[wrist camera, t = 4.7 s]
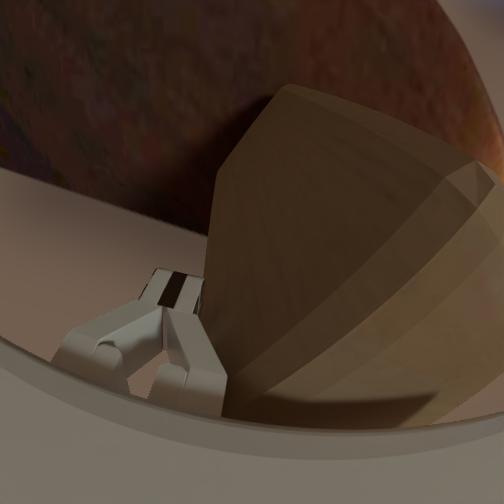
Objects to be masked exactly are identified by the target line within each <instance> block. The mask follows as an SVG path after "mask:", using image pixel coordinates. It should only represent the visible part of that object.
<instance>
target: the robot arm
mask: <svg viewBox="0 0 504 504" xmlns="http://www.w3.org/2000/svg"><path fill="white" fill-rule="evenodd" d="M205 285H206V279H204V278H203V277H198V276H193V275H188V274H184V273H180V272H176V271H175V272H174V271H171V270H167V269H163V268H158V269H156V270H155V271H154V273H153V275H152V278H151V280H150V281H149V283H148V284H147V285H146V287H145V288H144V290H143V292H142V294H141V296H140V297H139V300H136V299H134V300H131V301H129V302H127V303H125V304H123V305H121V306H119V307H117V308H115V309H113V310H111V311H109V312H107V313H105V314H102V315H101V316H99V317H96V318H94V319H92V320H90V321H88V322H86V323H84V324H82V325H80V326H78V327H76V328H74V329H72V330H70V332H69V333H68V335H67V336H66V338H65V339H64V341H63V343H62V344H61V346H60V347H59V349H58V351H57V352H56V354H55V355H54V357H53V359H52V360H51V362H48V361H46V360H44V359H42V358H40V357H38V356H36V355H34V354H32V353H30V352H28V351H27V350H25V349H23V348H21V347H19V346H17V345H15V344H14V343H12V342H10V341H8V340H7V339H5V338H3V337H1V336H0V504H504V412H499V413H494V414H490V415H486V416H481V417H476V418H471V419H466V420H460V421H454V422H448V423H441V424H434V425H425V426H416V427H404V428H389V429H318V428H302V427H290V426H279V425H270V424H262V423H255V422H248V421H241V420H235V419H229V418H224V417H221V413H222V407H223V400H224V394H225V388H226V382H227V374H226V372H225V370H224V368H223V366H222V364H221V362H220V360H219V358H218V356H217V355H216V353H215V351H214V349H213V347H212V345H211V343H210V340H209V338H208V336H207V334H206V332H205V330H204V328H203V326H202V324H201V322H200V317H201V313H202V307H203V301H204V300H203V294H204V291H205ZM162 349H164V350H167V353H168V356H169V359H170V362H171V364H169V363H164V364H162V365H160V367H159V369H158V372H157V375H156V377H155V380H154V383H153V385H152V388H151V391H150V394H149V396H148V399H145V398H142V397H138V396H135V395H132V394H130V391H129V387H128V382H127V378H128V377H129V376H131V375H132V374H133V373H135V372H136V371H137V370H138V369H140V368H141V367H142V366H143V365H145V364H146V363H147V362H149V361H150V360H151V359H153V358H154V357H155V356H156V355H158V354H159V353H160V352H162Z"/></svg>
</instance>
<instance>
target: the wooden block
mask: <svg viewBox="0 0 504 504" xmlns="http://www.w3.org/2000/svg"><path fill="white" fill-rule="evenodd" d="M203 278H204V279H206V285H205V291H204V294H203V300H204V301H203V307H202V313H201V317H200V322H201V324H202V326H203V328H204V330H205V332H206V334H207V336H208V338H209V340H210V343H211V345H212V347H213V349H214V351H215V353H216V355H217V356H218V358H219V360H220V362H221V364H222V366H223V368H224V370H225V372H226V374H227V382H226V388H225V394H224V400H223V407H222V413H221V417H224V418H229V419H235V420H241V421H248V422H255V423H262V424H270V425H279V426H290V427H302V428H318V429H389V428H404V427H416V426H425V425H429V424H431V423H433V422H434V421H436V420H437V419H439V418H441V417H442V416H444V415H446V414H447V413H449V412H450V411H452V410H453V409H455V408H456V407H458V406H459V405H461V404H462V403H464V402H465V401H467V400H468V399H469V398H471V397H472V396H473V395H475V394H476V393H477V392H479V391H480V390H482V389H483V388H484V387H486V386H487V385H488V384H489V383H491V382H492V381H493V380H494V379H496V378H497V377H498V376H499V375H500V374H502V373H503V372H504V185H503V184H502V182H501V180H500V178H499V177H498V175H497V174H496V173H495V172H493V171H492V170H490V169H489V168H487V167H486V166H484V165H483V164H481V163H480V162H478V161H477V160H475V159H474V158H472V157H470V156H469V155H467V154H465V153H463V152H462V151H460V150H458V149H456V148H455V147H453V146H451V145H449V144H447V143H445V142H443V141H441V140H440V139H438V138H436V137H434V136H432V135H430V134H428V133H426V132H423V131H421V130H419V129H417V128H415V127H413V126H411V125H409V124H406V123H404V122H402V121H399V120H397V119H395V118H392V117H390V116H388V115H385V114H383V113H380V112H378V111H375V110H373V109H370V108H367V107H365V106H362V105H359V104H356V103H354V102H351V101H348V100H345V99H342V98H339V97H336V96H333V95H330V94H326V93H323V92H320V91H316V90H313V89H309V88H306V87H302V86H298V85H295V84H291V83H289V84H287V85H285V86H283V87H282V88H280V89H279V91H278V92H277V93H276V94H275V96H274V97H273V98H272V99H271V101H270V102H269V103H268V104H267V106H266V107H265V108H264V109H263V111H262V112H261V113H260V115H259V116H258V117H257V118H256V120H255V121H254V122H253V124H252V125H251V126H250V128H249V129H248V130H247V132H246V133H245V134H244V136H243V137H242V138H241V140H240V141H239V142H238V144H237V145H236V146H235V148H234V149H233V151H232V152H231V153H230V155H229V156H228V157H227V159H226V160H225V162H224V163H223V164H222V166H221V167H220V169H219V170H218V171H217V176H216V181H215V188H214V195H213V203H212V210H211V218H210V225H209V233H208V242H207V250H206V259H205V267H204V277H203Z"/></svg>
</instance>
